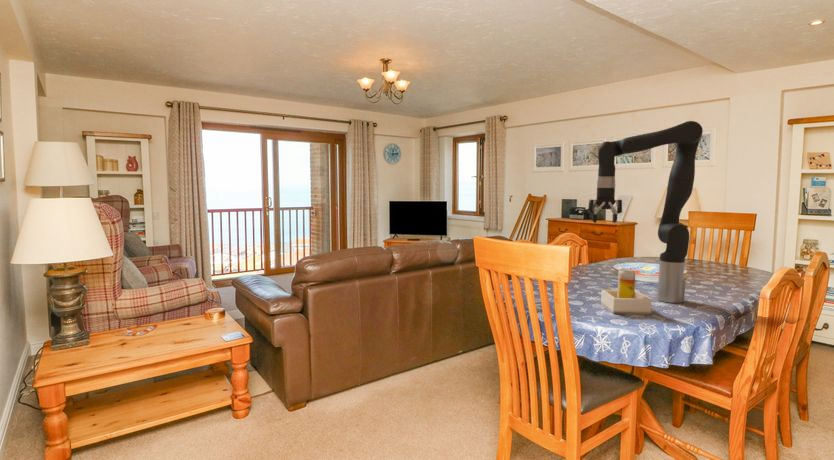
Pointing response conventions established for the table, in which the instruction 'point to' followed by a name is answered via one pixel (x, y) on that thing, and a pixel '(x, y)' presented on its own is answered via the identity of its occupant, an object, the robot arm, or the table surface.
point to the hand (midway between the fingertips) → (604, 222)
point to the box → (626, 303)
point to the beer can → (626, 283)
